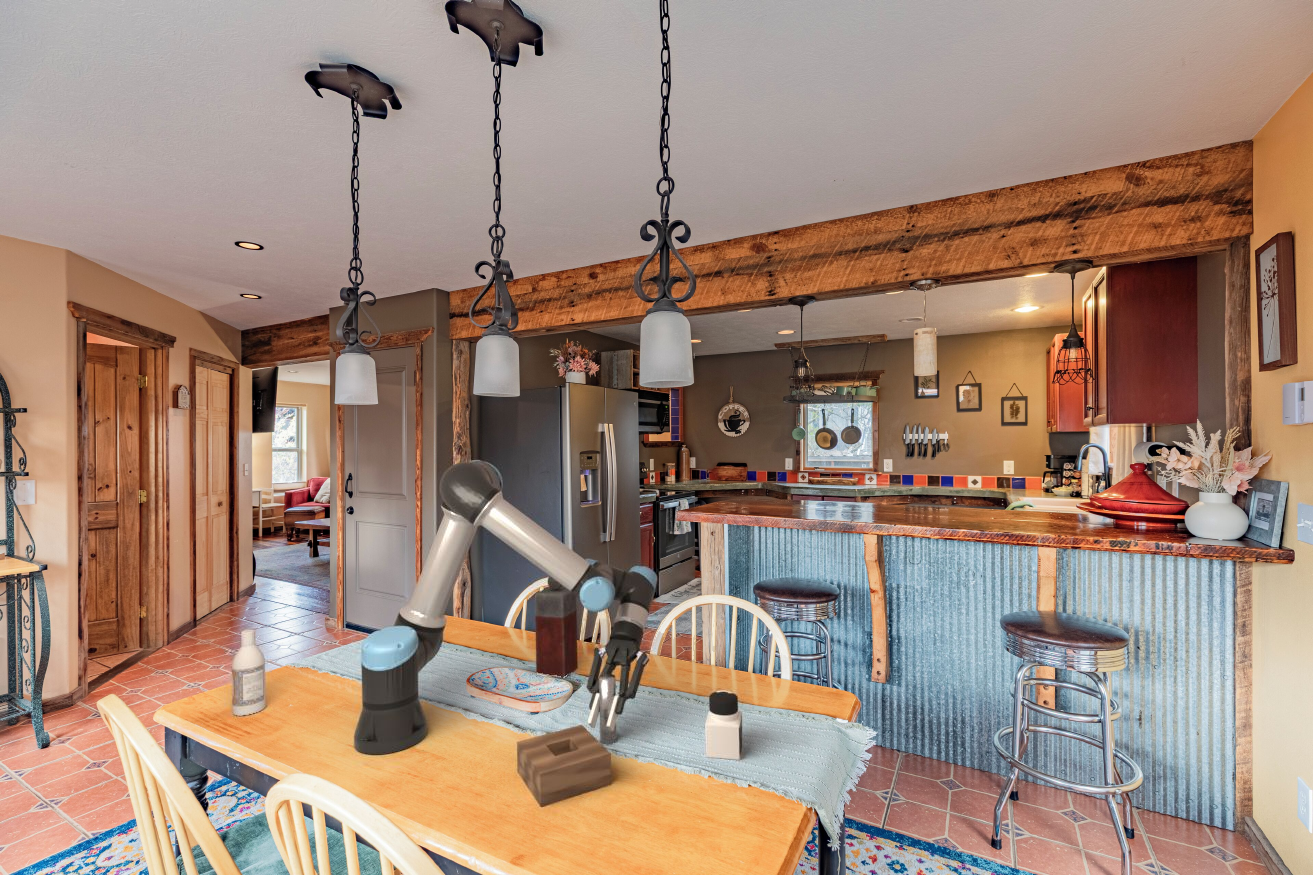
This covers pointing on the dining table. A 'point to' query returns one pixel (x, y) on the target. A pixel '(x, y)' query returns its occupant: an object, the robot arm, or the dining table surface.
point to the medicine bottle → (723, 726)
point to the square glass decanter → (556, 630)
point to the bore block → (563, 764)
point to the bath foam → (248, 677)
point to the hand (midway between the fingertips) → (600, 726)
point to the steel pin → (606, 707)
